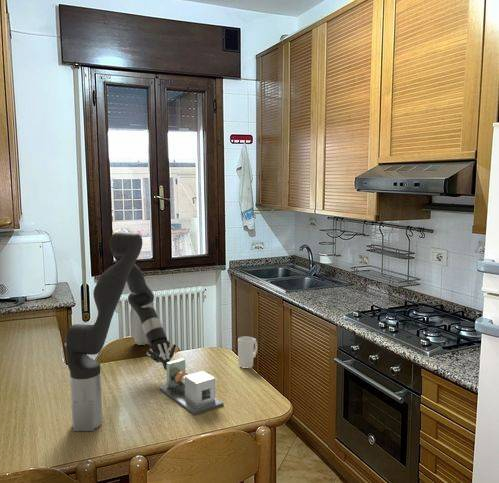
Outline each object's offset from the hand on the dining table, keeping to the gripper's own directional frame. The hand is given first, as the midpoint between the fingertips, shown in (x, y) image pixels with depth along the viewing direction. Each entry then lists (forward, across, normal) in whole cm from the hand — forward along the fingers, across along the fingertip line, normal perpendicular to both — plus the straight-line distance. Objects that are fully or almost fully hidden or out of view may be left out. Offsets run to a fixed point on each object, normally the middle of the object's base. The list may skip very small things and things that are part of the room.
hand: (169, 369), depth 187 cm
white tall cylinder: (-29, +10, +37) cm, 48 cm away
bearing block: (+15, 0, -7) cm, 17 cm away
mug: (+7, +36, +1) cm, 37 cm away
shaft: (+11, 0, -6) cm, 12 cm away
